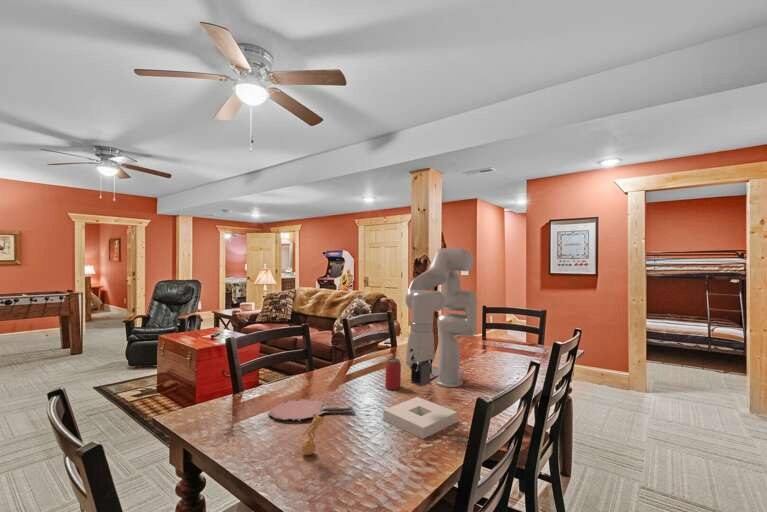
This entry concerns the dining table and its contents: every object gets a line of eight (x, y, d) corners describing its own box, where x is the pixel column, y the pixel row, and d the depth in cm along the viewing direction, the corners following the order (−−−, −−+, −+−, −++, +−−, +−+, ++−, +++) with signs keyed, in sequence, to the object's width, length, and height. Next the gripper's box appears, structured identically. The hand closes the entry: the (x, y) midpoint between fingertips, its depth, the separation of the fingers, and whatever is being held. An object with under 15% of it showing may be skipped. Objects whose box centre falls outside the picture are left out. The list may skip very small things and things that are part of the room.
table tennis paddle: (287, 401, 142) (287, 393, 142) (357, 411, 134) (357, 403, 134) (260, 419, 125) (260, 411, 125) (338, 432, 117) (338, 423, 117)
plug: (419, 383, 129) (420, 360, 129) (429, 386, 126) (430, 363, 126) (411, 386, 126) (411, 362, 126) (421, 389, 123) (421, 365, 123)
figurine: (312, 445, 108) (313, 405, 108) (328, 451, 105) (329, 409, 105) (293, 459, 100) (294, 415, 100) (310, 465, 97) (311, 420, 98)
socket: (417, 406, 139) (417, 396, 139) (456, 422, 126) (457, 412, 126) (383, 419, 126) (383, 409, 126) (423, 439, 113) (423, 427, 113)
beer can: (399, 391, 154) (399, 362, 154) (383, 389, 155) (384, 361, 155) (401, 386, 160) (402, 358, 161) (386, 384, 162) (387, 357, 162)
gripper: (428, 323, 135) (427, 373, 134) (397, 328, 123) (395, 383, 123) (445, 326, 129) (444, 378, 129) (413, 332, 118) (412, 389, 117)
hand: (420, 380), depth 126 cm, fingers closed on plug, 4 cm apart
